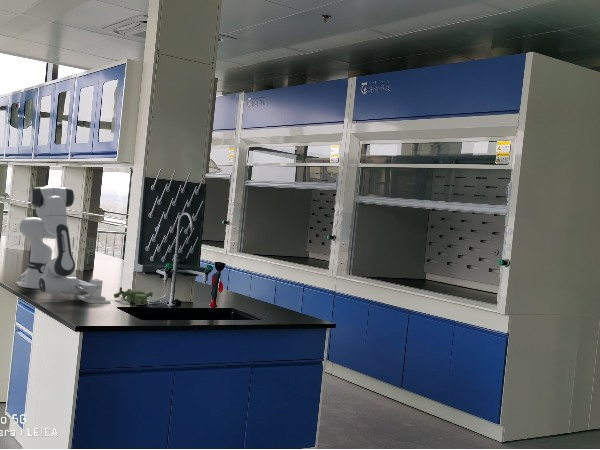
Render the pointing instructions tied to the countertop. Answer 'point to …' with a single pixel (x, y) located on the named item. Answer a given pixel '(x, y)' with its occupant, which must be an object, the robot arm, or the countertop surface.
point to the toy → (134, 296)
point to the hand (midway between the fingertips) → (97, 286)
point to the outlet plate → (94, 299)
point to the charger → (98, 293)
